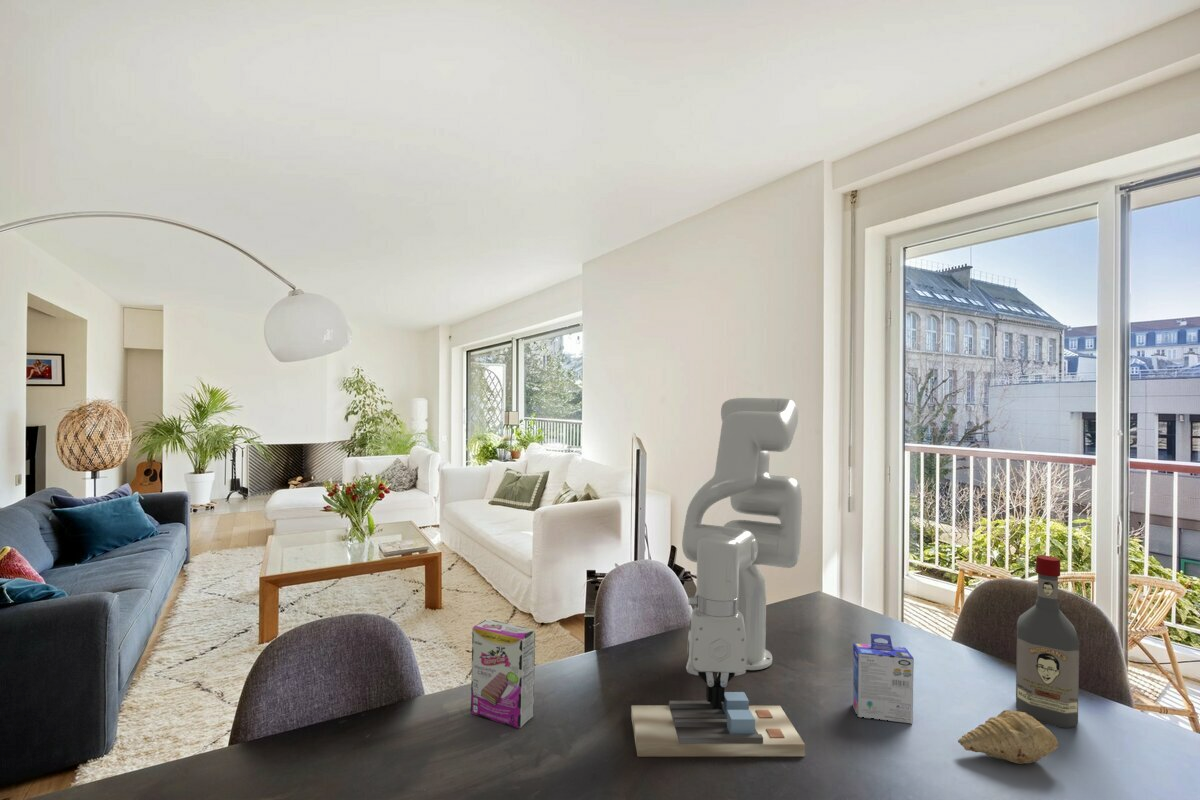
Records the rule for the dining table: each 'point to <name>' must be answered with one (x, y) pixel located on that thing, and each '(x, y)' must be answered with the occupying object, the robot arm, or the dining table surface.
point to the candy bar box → (503, 672)
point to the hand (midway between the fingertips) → (715, 705)
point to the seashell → (1011, 738)
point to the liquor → (1047, 655)
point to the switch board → (711, 731)
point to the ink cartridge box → (883, 681)
